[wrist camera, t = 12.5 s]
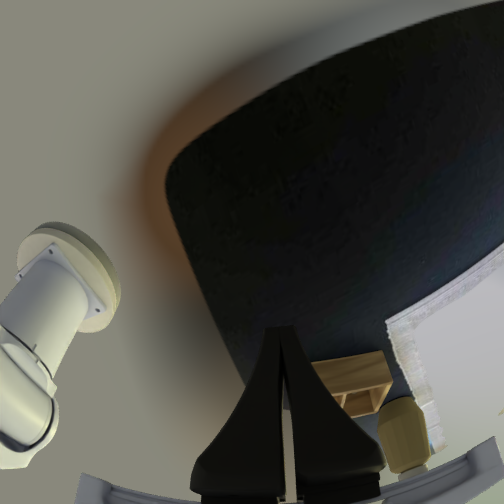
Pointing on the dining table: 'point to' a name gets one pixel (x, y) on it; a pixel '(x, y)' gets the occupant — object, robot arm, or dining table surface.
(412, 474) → the squeeze bottle
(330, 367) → the cutlery caddy
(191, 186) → the dining table surface
